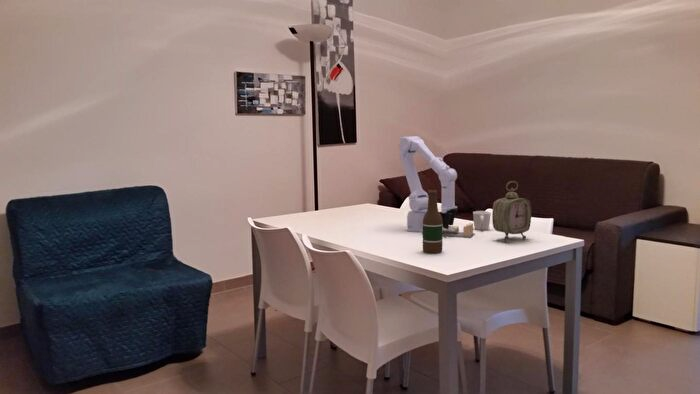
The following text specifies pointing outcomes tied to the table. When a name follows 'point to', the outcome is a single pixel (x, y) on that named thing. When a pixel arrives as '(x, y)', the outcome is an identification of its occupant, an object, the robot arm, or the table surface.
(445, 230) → the tube
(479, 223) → the cup
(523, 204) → the tabletop clock
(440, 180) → the robot arm
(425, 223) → the beer bottle
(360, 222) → the table surface
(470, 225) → the board
